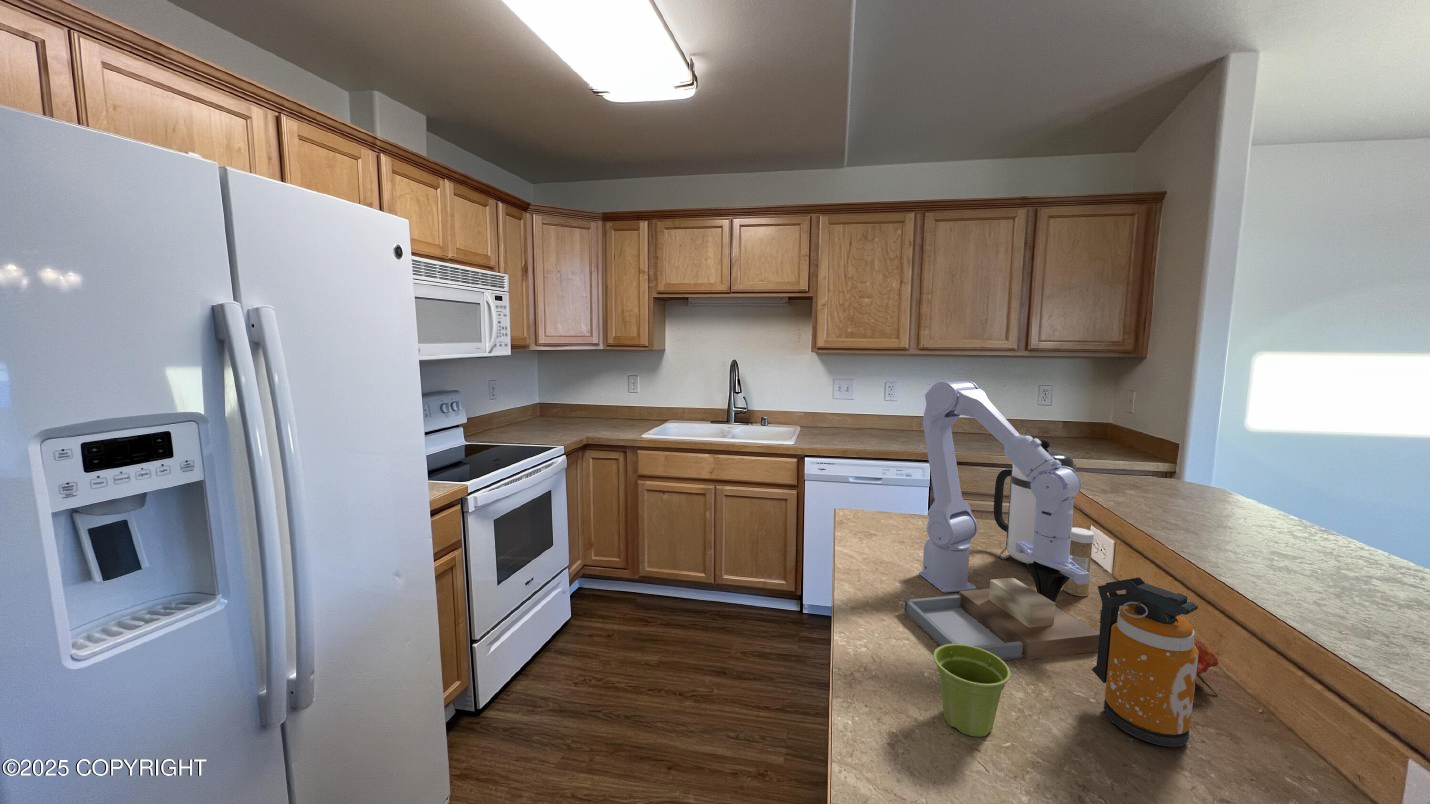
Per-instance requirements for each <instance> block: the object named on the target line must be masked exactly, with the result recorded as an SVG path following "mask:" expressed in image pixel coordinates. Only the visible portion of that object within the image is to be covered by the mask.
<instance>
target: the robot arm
mask: <svg viewBox="0 0 1430 804" xmlns="http://www.w3.org/2000/svg"><path fill="white" fill-rule="evenodd" d="M924 397H925V408H924V411H923V417H922V426H923V431H924V437H925V438H924V440H925V445H926V451H927V458H928V464H929V471H930V479H931V485H932V491H933V497H934V498H933V499H934V500H933V503H932V504H931V506H930V508H929V509H928V511H927V515H928V521H927V524H926V532H927V536H928V539H927V540H926V542H925V543H924V546H923V556H922V557H923V558H922V560H923V561H922V570H919V571H918V574H919V575H920V576H921V577H923V578H924V579H925V580H927V581H928V582H929V583H930V584H931V585H933V586H934V587H935V588H936V589H938V590H939V591H941V592H942V593H954V592H955V593H957V592H958V593H959V591H969V590H978V589H977V586H975V585H974V584H972V583H971V582H970V581H968V580H969V578H968V577H969V564H970V563H969V562H970V547H971V540H972V538H974V537H975V536H976V535H977V532H978V528H979V527H978V522H977V520H976V518H975V517H974V515H973V513H972V507H971V505H970V504H969V503H968V502H967V501H965V500H964V498H963V497H962V496H963V495H962V490H961V483H960V476H959V470H958V464H957V458H956V451H955V444H954V439H953V432H952V426H953V424H954V423H955V422H956V421H957V420H958V419H959V418H960V416H966V417H969V418H974V419H975V420H976V421H977V422H978V423H979V424H980V425H982V427H984V428H985V429H986V430H987V431H988V432H989V433H990V434H991V435H992V436H993V437H994V438H995V439H997V441H999V442H1000V443H1001V445H1003V446H1004V451H1003V452H1004V456H1005V457H1006V458H1007V459H1008V460H1009V461H1010V462H1011V464H1012V463H1013V464H1014V465H1015V466H1016V467H1017V468H1018V469H1019V470H1020V472H1021V473H1022V474H1023V475H1024V476H1025V477H1026V478H1027V479H1028V480H1029V481H1030V482H1032V483H1031V484H1030V485H1031V490H1032V492H1033V494H1034V495H1035V497H1036V510H1035V523H1034V535H1033V544H1030V543H1027V542H1025V541H1023V542H1016V552H1018V553H1023V554H1025V555H1027V556H1029V557H1030V558H1031V559H1033V560H1034V562H1033V563H1029V564H1026V565H1027V566H1026V568H1027V569H1028V571H1029V573H1030V576H1031V578H1032V579H1033V583H1034V587H1035V591H1036V592H1038V593H1039V594H1041V595H1043V596H1044V597H1046V598H1048V599H1049V600H1051V601H1053V602H1054V603H1056V601H1057V597H1058V596H1059V594H1060V592H1061V590H1062V589H1063V586H1064V584H1065V583H1066V582H1067V581H1068V580H1069V579H1070V578H1071V579H1073V580H1074V582H1075V583H1077V584H1079V585H1080V584H1089V585H1090V580H1089V573H1088V572H1086V571H1085V570H1083V569H1082V568H1080V567H1079V566H1078V565H1077V564H1075V563H1074V562H1073V561H1072V556H1070V555H1069V554H1070V542H1071V531H1072V528H1073V517H1074V503H1075V498H1074V497H1075V496H1076V495H1078V494H1079V492H1080V491H1081V487H1082V481H1081V478H1080V476H1079V475H1078V473H1077V472H1076V469H1075V470H1073V469H1072V468H1070V467H1067V466H1061V462H1059V461H1058V460H1054V459H1053V458H1052V457H1051V456H1050V455H1049V454H1048V453H1047V452H1046V451H1045V450H1044V449H1043V448H1042V447H1041V446H1040V445H1041V444H1042V442H1041V439H1039V438H1034V437H1032V435H1027V434H1026V435H1022V434H1020V433H1019V432H1018V431H1017V430H1016V428H1014V426H1013V425H1012V424H1011V423H1010V422H1009V420H1007V418H1005V416H1004V415H1003V414H1002V413H1001V412H1000V411H999V410H998V409H997V408H996V406H995V405H994V404H993V403H992V402H991V401H990V400H989V398H988V396H987V394H986V392H985V391H984V390H983V389H982V388H979V386H978V385H977V384H976V383H975V382H973V381H971V380H967V379H966V380H965V379H964V380H960V381H959V380H958V381H938V382H936V383H934V384H933V385H932V386H931V387H930V388H929V389H928V391H927V392H926V393H925V394H924ZM1013 464H1012V465H1013ZM1071 497H1073V498H1071ZM1068 498H1071V499H1068Z"/></svg>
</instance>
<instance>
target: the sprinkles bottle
mask: <svg viewBox="0 0 1430 804" xmlns="http://www.w3.org/2000/svg"><path fill="white" fill-rule="evenodd" d="M1094 539H1095V533H1094V532H1093V531H1091V530H1089V529H1087V528H1081V527H1072V531H1071V542H1070V554H1069V555H1070V556H1072V561H1073V562H1074V563H1075V564H1077V565H1078V566H1079V567H1080V568H1082V569H1083V570H1085V571H1086V572H1088V573H1089V581H1090V580H1091V569H1092V565H1091V563H1092V562H1091V561H1092V552H1093V551H1092V550H1093V543H1094ZM1062 589H1063V591H1065V592H1066V593H1067V594H1069V595H1071V596H1072V595H1073V596H1076V597H1087V596H1089V594H1090V591H1089V589H1090V583H1089V584H1080V585H1079V584H1077V583H1075V582H1074V580H1073V579H1071V578H1070V579H1069V580H1068V581H1067V582H1066V583H1065V584H1064V585H1063V587H1062Z"/></svg>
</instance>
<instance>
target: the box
mask: <svg viewBox="0 0 1430 804" xmlns="http://www.w3.org/2000/svg"><path fill="white" fill-rule="evenodd" d="M960 600H961V597H960V596H959V594H958V595H957V594H956V595H945V596H936V597H935V596H934V597H933V596H931V597H924V598H923V597H922V598H912V599H905V600H904V614H906V615H907V616H908V617H909V618H910V619H911V620H912V621H913V622H914V623H915V624H916V625H918V627H919V628H920V629H921V630H922V631H923V632H925V634H926V635H927V636H928V637H930V639H932V640H933V641H934V642H935V643H936V644H937V645H938V646H939V647H940V646H943V645H947V644H964V645H970V646H974V647H978V648H981V649H983V650H986V651H988V652H990V653H992V654H994V655H995V656H997V657H999V658H1000V659H1001V660H1002V661H1007V660H1010V661H1011V660H1017V659H1022V658H1023V656H1022V649H1023V644H1022V643H1021V642H1020V641H1017V642H1008V643H1006V642H1004V641H1003V640H1002V639H1000V638H999V637H998V636H997V635H995V634H994V633H993V632H992V631H990V630H989V629H988V628H986V627H985V626H984V625H983V624H981V623H980V622H979V621H977V620H976V619H975V618H974V617H972V616H971V615H970V614H969V613H967V612H966V611H965V610H963V609H962V608H961V607H960Z"/></svg>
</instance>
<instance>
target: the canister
mask: <svg viewBox="0 0 1430 804" xmlns="http://www.w3.org/2000/svg"><path fill="white" fill-rule="evenodd" d="M1097 590H1098V594H1099V597H1100V600H1101V609H1100V613H1099V614H1100V615H1099V617H1100V618H1099V623H1100V625H1099V632H1098V633H1099V643H1098V651H1097V655H1096V665H1095V666H1094V667H1093V668H1091V671H1092V672H1093V673H1094V674H1095V675H1096V677H1098V679H1099V680H1100V681H1101V682H1102V683H1103V684H1105V692H1104V693H1105V694H1104V702H1103V711H1104V712H1105V715H1106V716H1107V717H1108V719H1109V720H1110V721H1111V722H1112V723H1113V724H1115V725H1116V726H1117V727H1118V728H1119V729H1120V730H1122V731H1124V732H1126V733H1128V734H1130V736H1134V737H1135V738H1137V739H1140V740H1143V741H1145V742H1147V743H1151V744H1155V745H1159V746H1163V747H1181V746H1184V745H1186V744H1187V743H1189V742H1188V741H1189V737H1190V731H1191V730H1190V728H1191V722H1192V720H1191V719H1192V714H1193V713H1192V712H1193V704H1194V697H1195V688H1196V681H1197V679H1196V678H1197V675H1196V672H1197V663H1198V654H1199V652H1198V649H1197V648H1196V647H1195V645H1194V638H1195V634H1196V632H1195V630H1194V629H1193V626H1192V625H1191V623H1190V622H1189V621H1188V620H1187V619H1186V618H1184V617H1183V616H1181V615H1189V614H1191V613H1192V612H1195V611H1197V610H1198V609H1199V605H1197V604H1196V603H1195V602H1193V601H1188V596H1187V595H1185V594H1182V593H1180V592H1177V593H1175V592H1172V591H1170V590H1167V589H1164V588H1160V587H1158V586H1155V585H1153V584H1149V583H1146V582H1145V581H1144V580H1143V579H1142V578H1141V577H1140V576H1139V577H1133V578H1128V579H1121V580H1117V581H1116V580H1115V581H1109V582H1106V583H1105V584H1102V585H1097ZM1120 591H1125V593H1118V592H1120ZM1120 607H1121V608H1120Z"/></svg>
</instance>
